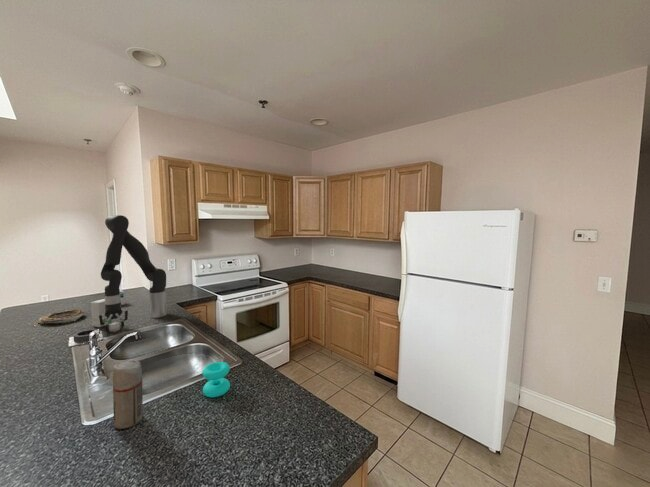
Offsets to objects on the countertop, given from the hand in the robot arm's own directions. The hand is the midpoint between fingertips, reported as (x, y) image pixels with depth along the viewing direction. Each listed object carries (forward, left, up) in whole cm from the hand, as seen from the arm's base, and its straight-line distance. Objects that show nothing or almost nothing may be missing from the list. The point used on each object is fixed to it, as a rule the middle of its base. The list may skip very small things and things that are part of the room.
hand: (114, 328), depth 164 cm
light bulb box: (-6, -61, -1) cm, 61 cm away
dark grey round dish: (+13, +5, -1) cm, 14 cm away
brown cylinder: (+3, +96, -1) cm, 96 cm away
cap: (0, 0, -1) cm, 1 cm away
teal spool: (-25, +99, -1) cm, 102 cm away
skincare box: (+5, -16, -1) cm, 17 cm away
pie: (+24, -42, -2) cm, 48 cm away
